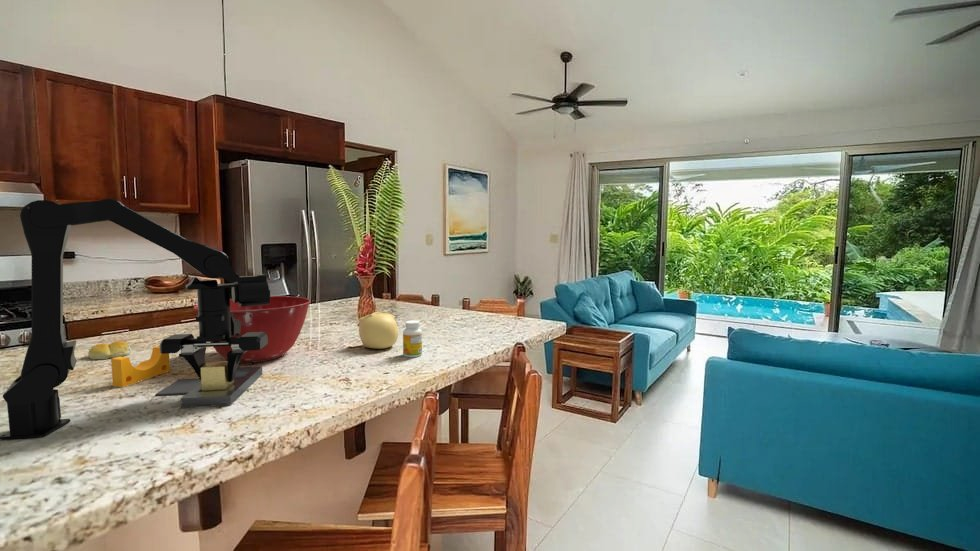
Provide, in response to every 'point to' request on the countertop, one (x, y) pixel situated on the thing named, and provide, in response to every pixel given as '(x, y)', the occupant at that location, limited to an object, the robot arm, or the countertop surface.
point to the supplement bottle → (412, 339)
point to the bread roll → (109, 350)
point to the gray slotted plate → (223, 398)
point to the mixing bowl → (269, 325)
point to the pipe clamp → (139, 368)
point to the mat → (180, 387)
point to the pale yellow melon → (378, 330)
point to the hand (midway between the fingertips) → (217, 382)
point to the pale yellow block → (215, 377)
